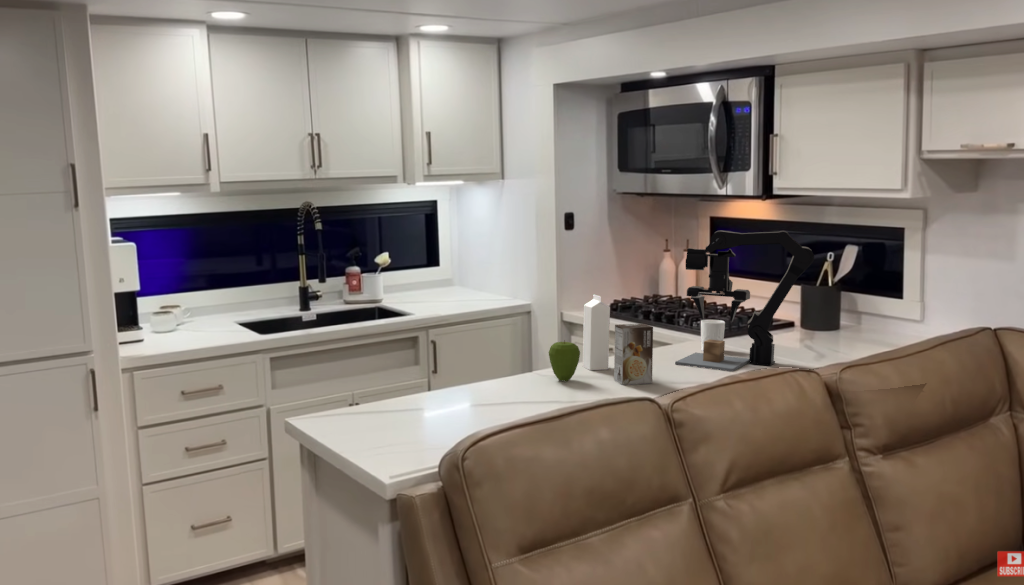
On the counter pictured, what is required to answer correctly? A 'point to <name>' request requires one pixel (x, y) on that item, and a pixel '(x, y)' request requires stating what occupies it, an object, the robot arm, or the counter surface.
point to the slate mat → (726, 364)
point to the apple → (564, 359)
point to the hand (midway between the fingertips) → (717, 320)
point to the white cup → (711, 331)
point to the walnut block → (713, 350)
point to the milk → (596, 334)
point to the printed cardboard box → (633, 354)
